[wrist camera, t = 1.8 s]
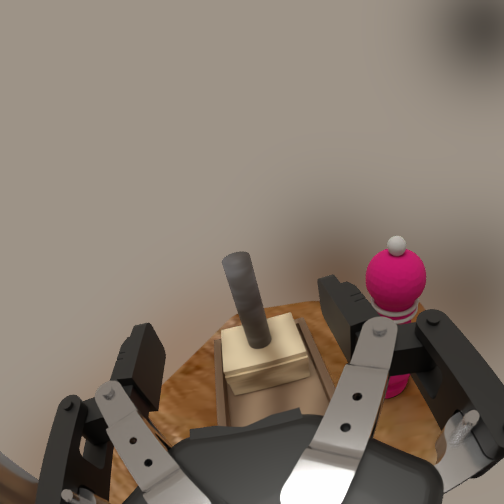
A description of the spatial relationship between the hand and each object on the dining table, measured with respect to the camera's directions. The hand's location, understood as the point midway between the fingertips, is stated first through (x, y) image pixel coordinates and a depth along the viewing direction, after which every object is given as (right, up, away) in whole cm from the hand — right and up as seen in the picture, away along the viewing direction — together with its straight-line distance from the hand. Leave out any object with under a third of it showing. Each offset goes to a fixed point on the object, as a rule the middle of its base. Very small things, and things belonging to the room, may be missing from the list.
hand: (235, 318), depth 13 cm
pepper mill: (+18, -13, +18) cm, 28 cm away
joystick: (+3, -13, +24) cm, 27 cm away
